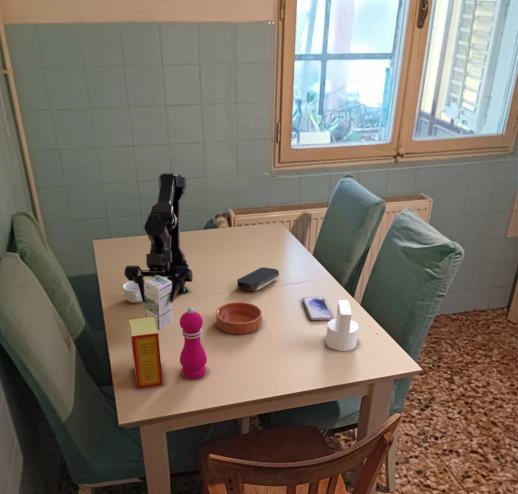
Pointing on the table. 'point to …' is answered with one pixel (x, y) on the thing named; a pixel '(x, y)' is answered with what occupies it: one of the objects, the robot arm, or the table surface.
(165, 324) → the syrup box
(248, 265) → the table surface
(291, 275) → the table surface
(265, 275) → the black sponge
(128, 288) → the teacup
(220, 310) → the bowl
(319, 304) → the smartphone
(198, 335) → the pepper mill
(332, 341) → the cylinder with rectangular tab
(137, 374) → the baking soda box
